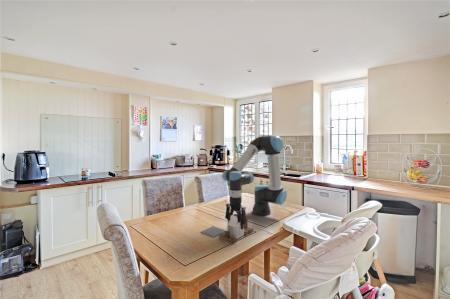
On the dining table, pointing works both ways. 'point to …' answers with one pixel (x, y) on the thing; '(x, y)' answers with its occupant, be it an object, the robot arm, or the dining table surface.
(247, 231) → the pair of wooden stands
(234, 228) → the container
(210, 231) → the plate
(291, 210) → the dining table surface
